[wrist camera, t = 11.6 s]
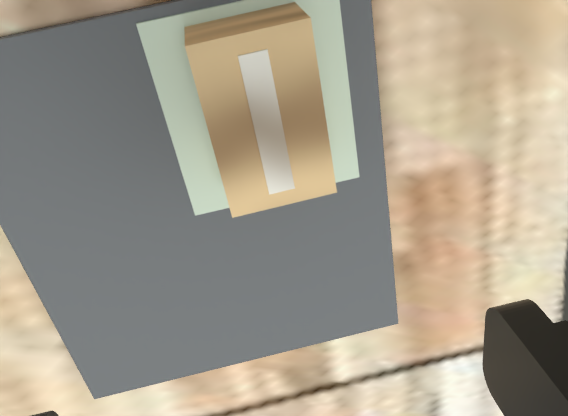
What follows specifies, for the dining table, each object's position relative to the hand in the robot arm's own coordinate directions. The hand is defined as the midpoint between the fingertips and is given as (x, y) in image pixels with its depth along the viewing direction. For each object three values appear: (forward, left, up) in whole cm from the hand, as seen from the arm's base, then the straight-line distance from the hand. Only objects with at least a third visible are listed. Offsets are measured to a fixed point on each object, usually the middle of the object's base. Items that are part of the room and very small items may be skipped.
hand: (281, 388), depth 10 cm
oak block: (+2, -1, -18) cm, 18 cm away
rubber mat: (-2, -7, -19) cm, 20 cm away
